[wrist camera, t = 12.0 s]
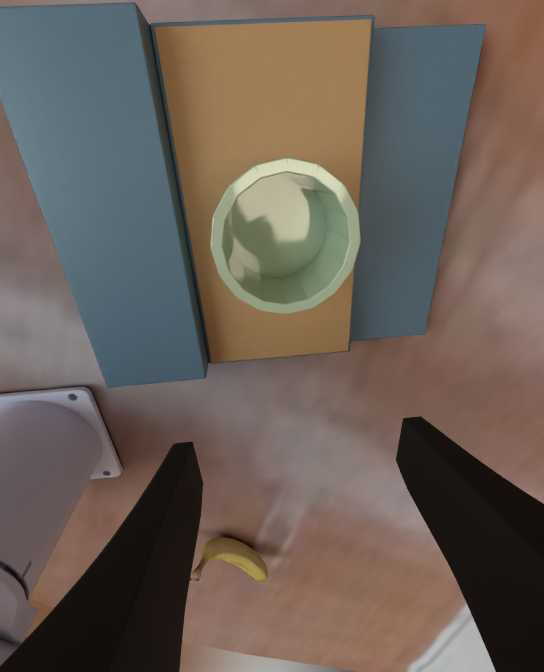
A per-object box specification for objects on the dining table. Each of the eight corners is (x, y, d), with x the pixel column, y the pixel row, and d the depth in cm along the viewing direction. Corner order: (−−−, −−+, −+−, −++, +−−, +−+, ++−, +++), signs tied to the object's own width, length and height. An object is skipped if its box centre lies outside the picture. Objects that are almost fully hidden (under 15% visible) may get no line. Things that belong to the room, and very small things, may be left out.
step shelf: (130, 352, 19) (106, 388, 16) (36, 51, 12) (-37, 6, 9) (416, 327, 20) (450, 356, 16) (470, 33, 13) (543, -13, 10)
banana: (192, 532, 27) (184, 584, 24) (203, 522, 27) (198, 574, 23) (260, 560, 30) (262, 610, 27) (272, 551, 30) (276, 602, 26)
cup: (236, 291, 15) (234, 326, 11) (204, 179, 13) (189, 180, 9) (336, 268, 15) (365, 296, 11) (322, 150, 13) (353, 140, 9)
